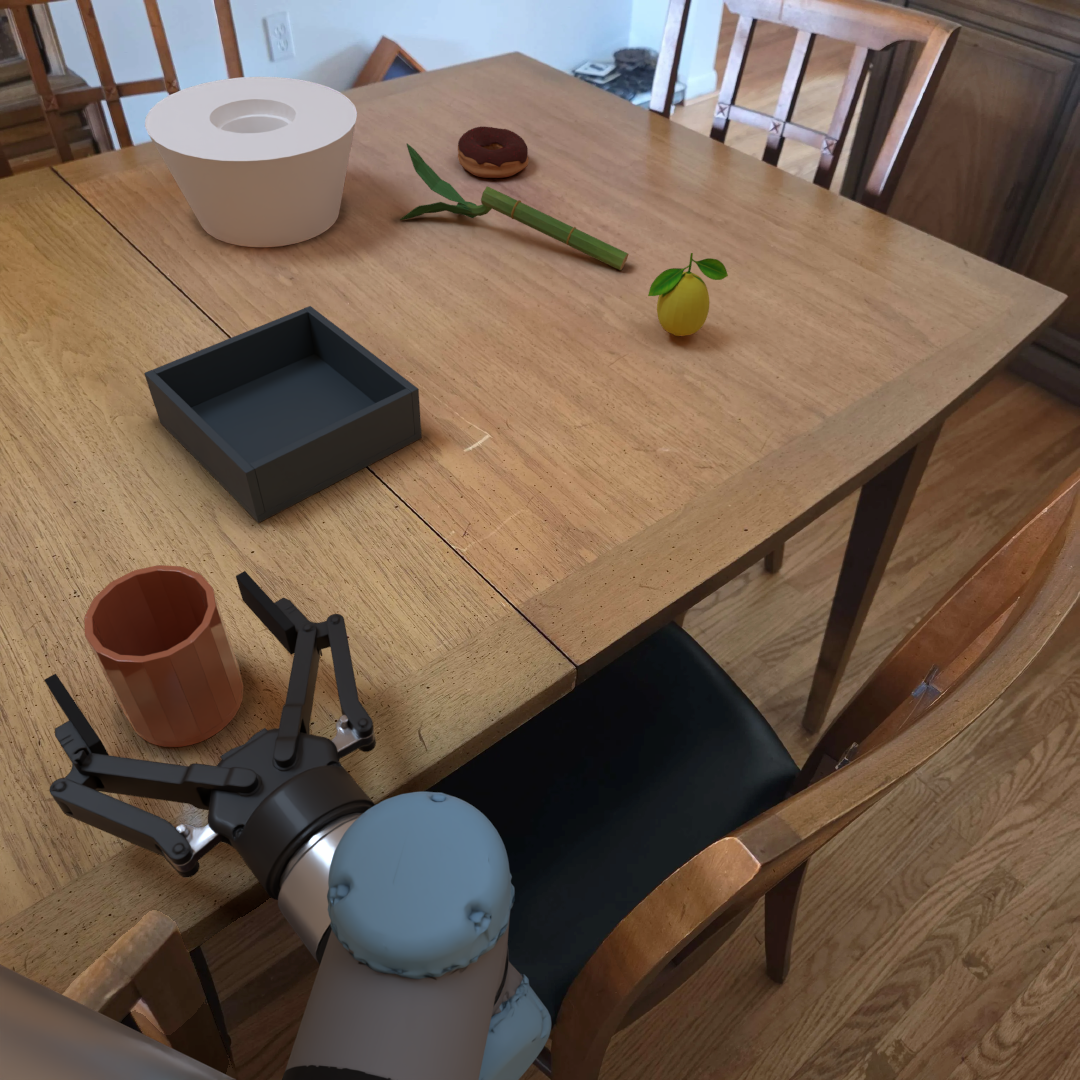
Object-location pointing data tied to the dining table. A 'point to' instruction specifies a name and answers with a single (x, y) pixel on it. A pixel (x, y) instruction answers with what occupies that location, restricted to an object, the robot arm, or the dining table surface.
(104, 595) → the cup
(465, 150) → the donut
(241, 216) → the white tapered round pot
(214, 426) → the bin
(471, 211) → the decorative plant
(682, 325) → the lemon
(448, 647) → the dining table surface
